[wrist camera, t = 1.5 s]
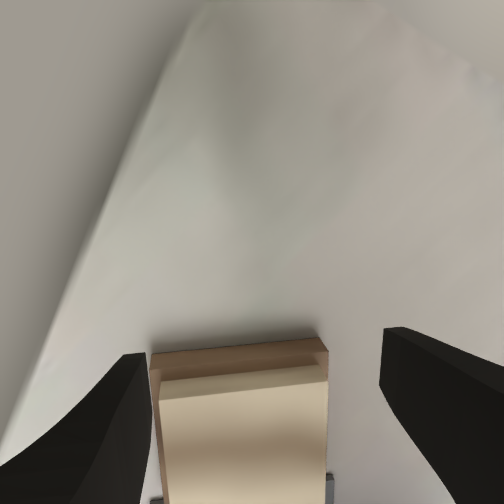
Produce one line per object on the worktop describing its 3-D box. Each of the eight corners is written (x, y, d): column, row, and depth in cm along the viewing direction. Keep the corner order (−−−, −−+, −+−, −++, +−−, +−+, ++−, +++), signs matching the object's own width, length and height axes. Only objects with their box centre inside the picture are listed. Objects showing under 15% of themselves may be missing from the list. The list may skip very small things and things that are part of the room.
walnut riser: (316, 470, 24) (324, 490, 23) (167, 492, 23) (165, 515, 22) (319, 337, 22) (328, 351, 20) (152, 354, 21) (149, 370, 19)
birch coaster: (316, 488, 23) (324, 511, 21) (174, 509, 22) (173, 535, 20) (318, 364, 20) (328, 381, 19) (160, 381, 19) (158, 400, 18)
